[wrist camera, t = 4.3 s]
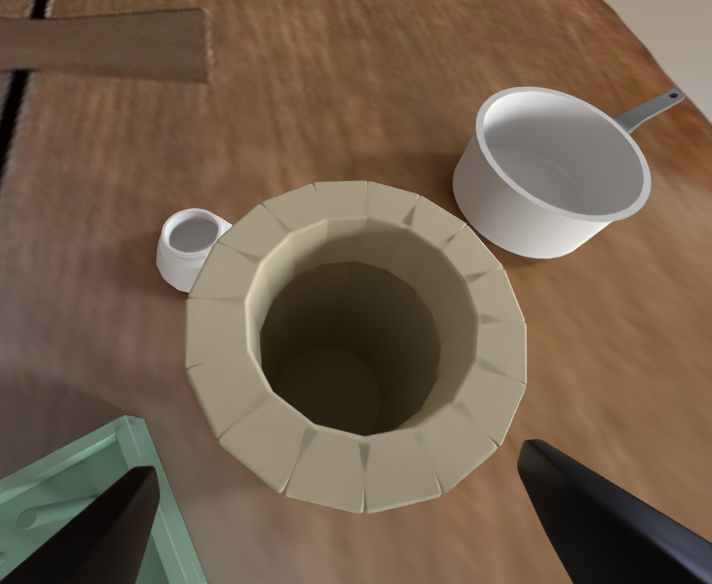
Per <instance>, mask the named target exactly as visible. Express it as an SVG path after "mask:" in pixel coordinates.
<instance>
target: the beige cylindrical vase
mask: <svg viewBox="0 0 712 584" xmlns="http://www.w3.org/2000/svg"><path fill="white" fill-rule="evenodd" d="M184 367H185V369H187V374H186V375H187V377H188V379H189V382H190V384H191V386H192V388H193V391H194V393H195V395H196V397H197V400H198V402H199V404H200V406H201V408H202V411H203V413H204V415H205V417H206V420H207V422H208V424H209V426H210V429H211V431H212V433H213V435H214V436H215V437H216V438H217V439H218V442H219V444H220V445H221V446H222V447H223V448H225V449H226V450H227V451H228V452H229V453H231V454H232V455H233V456H234V457H235V458H237V459H238V460H239V461H240V462H241V463H242V464H244V465H245V466H246V467H247V468H248V469H250V470H251V471H252V472H253V473H254V474H256V475H257V476H258V477H259V478H260V479H262V480H263V481H264V482H265V483H266V484H268V485H269V486H270V487H271V488H272V489H274V490H275V491H276V492H278V493H281V492H283V494H284V495H286V496H287V497H290V498H294V499H299V500H303V501H307V502H311V503H315V504H319V505H324V506H328V507H332V508H336V509H340V510H344V511H348V512H353V513H357V514H358V513H362V512H363V511H364V512H365V513H367V514H371V513H375V512H380V511H384V510H388V509H392V508H397V507H401V506H405V505H409V504H414V503H418V502H422V501H426V500H431V499H435V498H438V497H439V496H440V495H441V493H442V494H444V493H447V492H448V491H450V490H451V489H452V488H453V487H454V486H455V485H457V484H458V483H459V482H460V481H461V480H462V479H464V478H465V477H466V476H467V475H468V474H470V473H471V472H472V471H473V470H474V469H475V468H477V467H478V466H479V465H480V464H481V463H482V462H484V461H485V460H486V459H487V458H488V457H490V456H491V455H492V454H493V453H494V452H495V451H496V449H497V447H500V446H501V445H502V442H503V440H504V438H505V436H506V433H507V431H508V429H509V426H510V424H511V422H512V419H513V417H514V415H515V412H516V410H517V408H518V405H519V403H520V401H521V399H522V396H523V394H524V392H525V389H526V386H525V385H526V383H527V350H526V324H525V323H524V317H523V314H522V312H521V309H520V307H519V304H518V302H517V299H516V297H515V294H514V292H513V289H512V287H511V284H510V282H509V279H508V277H507V274H506V272H505V270H504V269H502V265H501V263H500V262H499V261H498V260H497V259H496V258H495V256H494V255H493V254H492V253H491V252H490V251H489V249H488V248H487V247H486V246H485V245H484V244H483V242H482V241H481V240H480V239H479V238H478V237H477V235H476V234H475V233H474V232H473V231H472V230H471V228H470V227H469V226H466V224H465V223H464V222H463V221H461V220H460V219H458V218H457V217H455V216H453V215H452V214H450V213H449V212H447V211H445V210H444V209H442V208H441V207H439V206H437V205H436V204H434V203H433V202H431V201H429V200H428V199H426V198H425V197H423V196H420V197H419V195H418V194H416V193H412V192H408V191H404V190H401V189H397V188H393V187H390V186H386V185H382V184H379V183H375V182H371V181H368V182H366V181H338V182H315V183H313V185H312V184H308V185H305V186H302V187H300V188H297V189H294V190H292V191H289V192H286V193H284V194H281V195H278V196H276V197H273V198H270V199H268V200H265V201H263V202H262V203H261V205H260V204H258V205H256V206H255V207H254V208H253V209H251V210H250V211H249V212H248V213H247V214H246V215H245V216H243V217H242V218H241V219H240V220H239V221H238V222H236V223H235V224H234V225H233V226H232V227H231V228H230V229H228V230H227V231H226V232H225V233H224V234H223V235H222V236H220V237H219V238H218V239H217V242H216V243H214V244H213V246H212V248H211V250H210V252H209V254H208V256H207V258H206V260H205V262H204V264H203V266H202V268H201V270H200V272H199V274H198V276H197V278H196V280H195V282H194V284H193V286H192V288H191V290H190V292H189V294H188V299H187V300H186V310H185V345H184Z"/></svg>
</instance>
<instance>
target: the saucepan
mask: <svg viewBox="0 0 712 584" xmlns="http://www.w3.org/2000/svg"><path fill="white" fill-rule="evenodd" d="M685 97H686V96H685V95H684V94H683V93H681V92H680V91H679V90H677V89H676V88H674V89H672V90H670V91H668V92H665V93H663V94H661V95H659V96H657V97H655V98H653V99H651V100H649V101H647V102H645V103H643V104H641V105H639V106H637V107H635V108H633V109H631V110H629V111H627V112H625V113H622V114H620V115H619V116H617V117H615V118H610V117H609V116H607V115H606V114H605V113H603V112H602V111H600V110H599V109H597V108H595V107H594V106H592V105H590V104H589V103H586V102H584V101H582V100H580V99H578V98H576V97H574V96H571V95H568V94H565V93H562V92H559V91H555V90H550V89H546V88H538V87H515V88H511V89H506V90H503V91H500V92H498V93H496V94H494V95H492V96H491V97H490V98H489V99H488V100H486V101H485V102H484V104H483V105H482V107H481V108H480V110H479V112H478V116H477V120H476V131H475V132H474V134H473V136H472V138H471V140H470V142H469V144H468V146H467V147H466V149H465V151H464V153H463V155H462V157H461V159H460V161H459V162H458V164H457V166H456V168H455V171H454V175H453V191H454V195H455V199H456V202H457V204H458V206H459V208H460V210H461V212H462V213H463V215H464V216H465V217H466V219H467V220H468V222H469V223H470V224H471V225H472V226H473V227H474V228H475V229H476V230H477V231H478V232H479V233H480V234H481V235H483V236H484V237H485V238H487V239H488V240H489V241H491V242H492V243H494V244H496V245H498V246H499V247H501V248H503V249H505V250H507V251H510V252H513V253H515V254H518V255H521V256H526V257H532V258H555V257H560V256H563V255H566V254H568V253H570V252H572V251H574V250H575V249H576V248H578V247H579V246H580V245H582V244H583V243H584V242H586V241H587V240H588V239H590V238H591V237H592V236H594V235H595V234H596V233H598V232H599V231H600V230H602V229H603V228H604V227H606V226H607V225H608V224H610V223H611V222H612V221H616V220H622V219H624V218H626V217H628V216H631V215H633V214H635V213H636V212H637V211H638V210H639V209H640V208H641V207H643V206H644V204H645V202H646V200H647V198H648V197H649V194H650V188H651V177H650V170H649V168H648V165H647V162H646V159H645V157H644V156H643V154H642V152H641V150H640V149H639V147H638V145H637V144H636V143H635V142H634V140H633V139H632V138H631V137H630V135H629V134H630V133H631V132H632V131H634V130H635V129H636V128H637V127H638V126H639V125H640V124H641V123H643V122H645V121H646V120H648V119H650V118H652V117H654V116H656V115H657V114H659V113H661V112H663V111H665V110H666V109H668V108H670V107H672V106H674V105H676V104H677V103H679V102H681V101H682V100H683V99H684V98H685Z"/></svg>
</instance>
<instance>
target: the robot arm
mask: <svg viewBox="0 0 712 584" xmlns="http://www.w3.org/2000/svg"><path fill="white" fill-rule="evenodd" d="M517 469H518V473H519V475H520V478H521V480H522V482H523V484H524V486H525V489H526V491H527V493H528V495H529V498H530V500H531V502H532V504H533V506H534V509H535V511H536V513H537V515H538V517H539V520H540V522H541V524H542V526H543V528H544V530H545V532H546V534H547V536H548V538H549V540H550V542H551V544H552V546H553V548H554V550H555V551H556V553H557V555H558V557H559V559H560V560H561V562H562V564H563V566H564V568H565V569H566V571H567V573H568V575H569V577H570V578H571V580H572V582H573V584H712V543H711V542H709V541H707V540H706V539H704V538H703V537H701V536H699V535H698V534H696V533H694V532H693V531H691V530H689V529H688V528H686V527H684V526H683V525H681V524H679V523H678V522H676V521H675V520H673V519H671V518H670V517H668V516H666V515H665V514H663V513H661V512H660V511H658V510H656V509H655V508H653V507H652V506H650V505H648V504H647V503H645V502H643V501H642V500H640V499H638V498H637V497H635V496H633V495H632V494H630V493H628V492H627V491H625V490H624V489H622V488H620V487H619V486H617V485H615V484H614V483H612V482H610V481H609V480H607V479H605V478H604V477H602V476H601V475H599V474H597V473H596V472H594V471H592V470H591V469H589V468H587V467H586V466H584V465H582V464H581V463H579V462H577V461H576V460H574V459H573V458H571V457H569V456H568V455H566V454H564V453H563V452H561V451H559V450H558V449H556V448H554V447H553V446H551V445H550V444H548V443H546V442H545V441H543V440H540V439H532V440H525V441H524V442H523V445H522V448H521V452H520V455H519V459H518V462H517ZM159 501H160V488H159V483H158V478H157V472H156V469H155V467H154V466H152V465H147V466H136V467H133V468H131V469H130V470H129V471H128V472H126V473H125V474H124V475H123V476H122V477H121V478H119V479H118V480H117V481H116V482H115V483H114V484H112V485H111V486H110V487H109V488H108V489H107V490H105V491H104V492H103V493H102V494H101V495H100V496H98V497H97V498H96V499H95V500H94V501H93V502H91V503H90V504H89V505H88V506H87V507H86V508H84V509H83V510H82V511H81V512H80V513H79V514H77V515H76V516H75V517H74V518H73V519H72V520H70V521H69V522H68V523H67V524H66V525H65V526H63V527H62V528H61V529H60V530H59V531H58V532H56V533H55V534H54V535H53V536H52V537H51V538H49V539H48V540H47V541H46V542H45V543H44V544H43V545H41V546H40V547H39V548H38V549H37V550H36V551H34V552H33V553H32V554H31V555H30V556H29V557H27V558H26V559H25V560H24V561H23V562H22V563H20V564H19V565H18V566H17V567H16V568H15V569H13V570H12V571H11V572H10V573H9V574H8V575H6V576H5V577H4V578H3V579H2V580H1V581H0V584H135V583H136V580H137V577H138V574H139V571H140V567H141V564H142V560H143V557H144V553H145V550H146V547H147V543H148V540H149V536H150V533H151V529H152V526H153V522H154V519H155V516H156V512H157V509H158V505H159Z"/></svg>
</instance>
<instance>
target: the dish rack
mask: <svg viewBox="0 0 712 584" xmlns="http://www.w3.org/2000/svg"><path fill="white" fill-rule="evenodd" d="M147 465H152V466H154V467H155V469H156V472H157V478H158V483H159V488H160V501H159V505H158V509H157V512H156V516H155V519H154V522H153V526H152V529H151V533H150V536H149V540H148V543H147V547H146V550H145V553H144V557H143V560H142V564H141V567H140V571H139V574H138V577H137V580H136V583H135V584H208V583H207V580H206V578H205V575H204V573H203V570H202V568H201V565H200V562H199V560H198V557H197V555H196V552H195V550H194V547H193V544H192V542H191V539H190V537H189V534H188V532H187V529H186V526H185V524H184V521H183V519H182V516H181V514H180V511H179V508H178V506H177V503H176V501H175V498H174V496H173V493H172V490H171V488H170V485H169V483H168V480H167V478H166V475H165V472H164V470H163V467H162V465H161V462H160V460H159V457H158V454H157V452H156V449H155V447H154V444H153V442H152V439H151V436H150V434H149V431H148V429H147V426H146V424H145V421H144V419H143V418H138V417H133V416H129V415H123V416H121V417H119V418H117V419H115V420H113V421H111V422H109V423H108V424H106V425H104V426H102V427H100V428H98V429H96V430H94V431H92V432H90V433H89V434H87V435H85V436H83V437H81V438H79V439H77V440H75V441H73V442H71V443H69V444H68V445H66V446H64V447H62V448H60V449H58V450H56V451H54V452H52V453H50V454H49V455H47V456H45V457H43V458H41V459H39V460H37V461H35V462H33V463H31V464H29V465H28V466H26V467H24V468H22V469H20V470H18V471H16V472H14V473H12V474H10V475H8V476H7V477H5V478H3V479H1V480H0V581H1V580H2V579H3V578H4V577H5V576H6V575H8V574H9V573H10V572H11V571H12V570H13V569H15V568H16V567H17V566H18V565H19V564H20V563H22V562H23V561H24V560H25V559H26V558H27V557H29V556H30V555H31V554H32V553H33V552H34V551H36V550H37V549H38V548H39V547H40V546H41V545H43V544H44V543H45V542H46V541H47V540H48V539H49V538H51V537H52V536H53V535H54V534H55V533H56V532H58V531H59V530H60V529H61V528H62V527H63V526H65V525H66V524H67V523H68V522H69V521H70V520H72V519H73V518H74V517H75V516H76V515H77V514H79V513H80V512H81V511H82V510H83V509H84V508H86V507H87V506H88V505H89V504H90V503H91V502H93V501H94V500H95V499H96V498H97V497H98V496H100V495H101V494H102V493H103V492H104V491H105V490H107V489H108V488H109V487H110V486H111V485H112V484H114V483H115V482H116V481H117V480H118V479H119V478H121V477H122V476H123V475H124V474H125V473H126V472H128V471H129V470H130V469H131V468H133V467H136V466H147Z"/></svg>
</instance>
